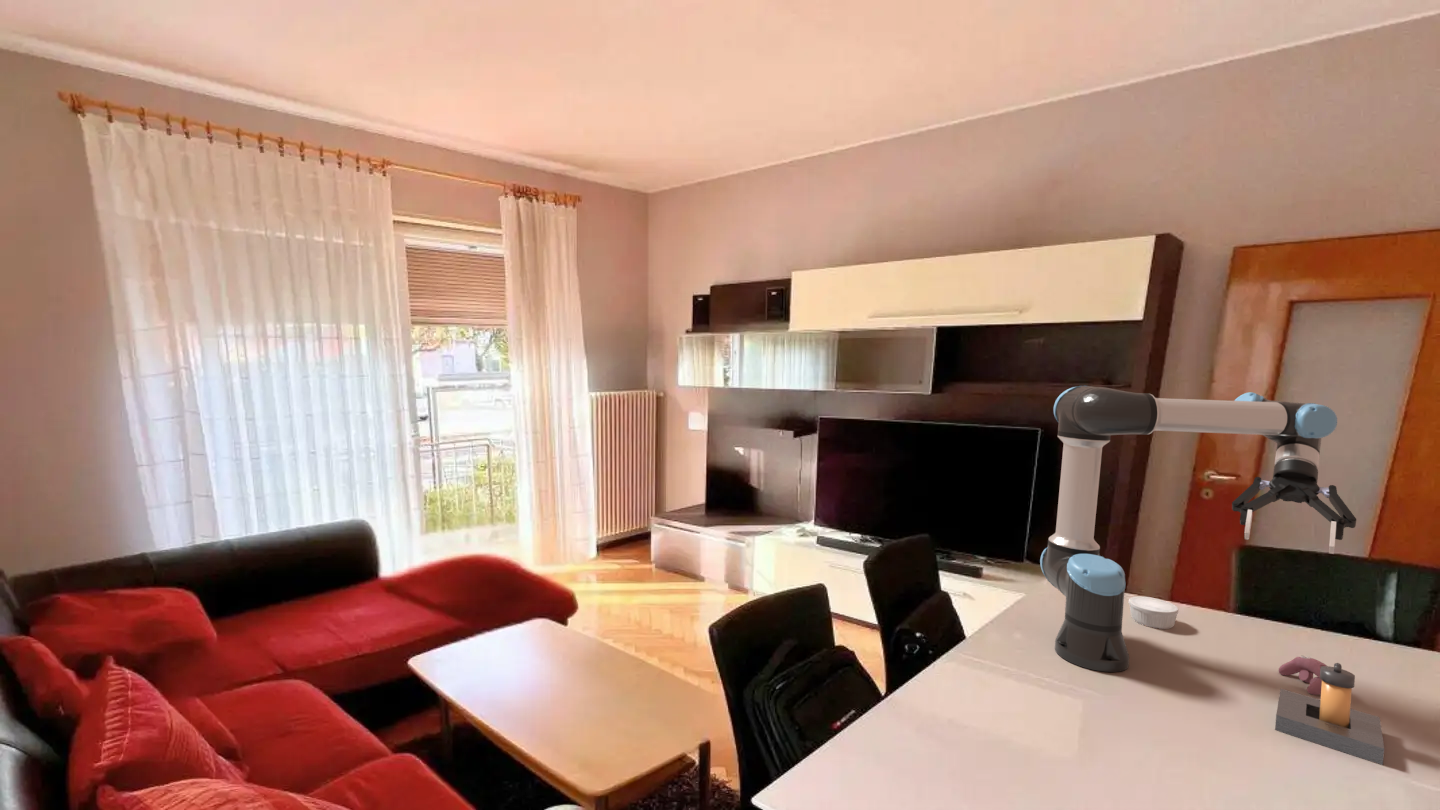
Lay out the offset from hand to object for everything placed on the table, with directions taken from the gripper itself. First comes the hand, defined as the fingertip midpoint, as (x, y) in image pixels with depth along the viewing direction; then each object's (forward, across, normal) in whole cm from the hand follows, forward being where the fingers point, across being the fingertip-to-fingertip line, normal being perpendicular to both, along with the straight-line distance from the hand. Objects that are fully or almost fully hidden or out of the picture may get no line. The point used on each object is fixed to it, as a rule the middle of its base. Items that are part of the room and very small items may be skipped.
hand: (1287, 543), depth 132 cm
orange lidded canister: (+35, -9, -10) cm, 37 cm away
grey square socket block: (+35, -8, -10) cm, 37 cm away
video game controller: (+20, -5, -25) cm, 33 cm away
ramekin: (+10, +26, -36) cm, 45 cm away
